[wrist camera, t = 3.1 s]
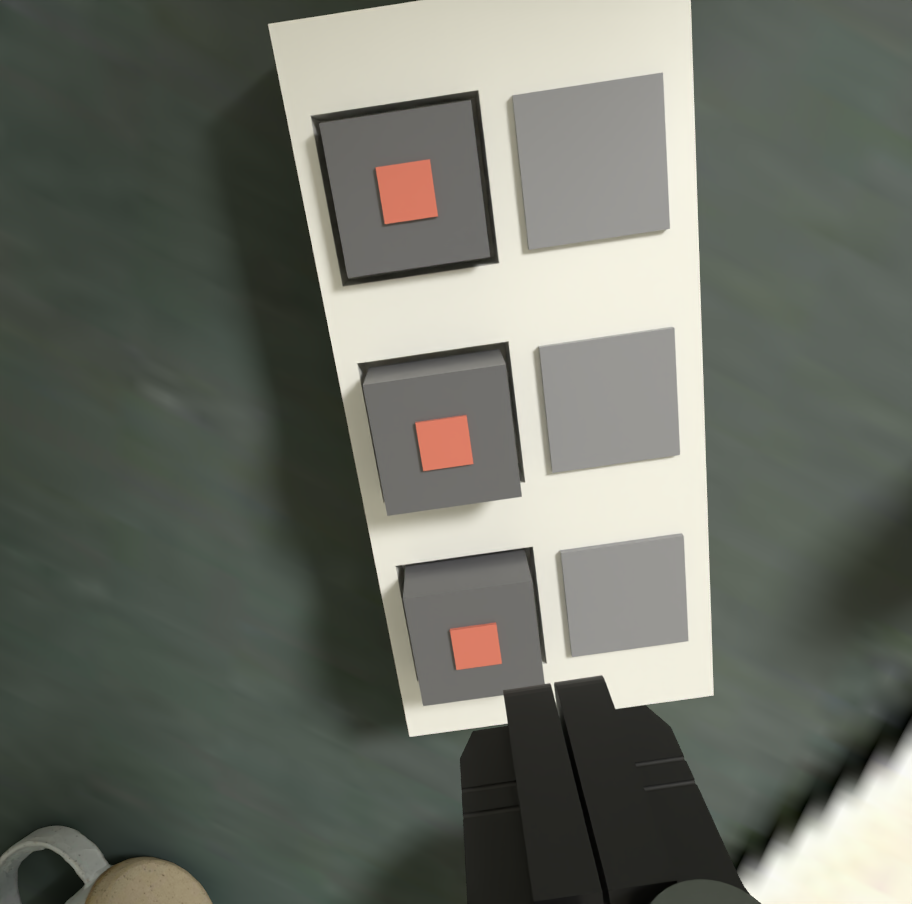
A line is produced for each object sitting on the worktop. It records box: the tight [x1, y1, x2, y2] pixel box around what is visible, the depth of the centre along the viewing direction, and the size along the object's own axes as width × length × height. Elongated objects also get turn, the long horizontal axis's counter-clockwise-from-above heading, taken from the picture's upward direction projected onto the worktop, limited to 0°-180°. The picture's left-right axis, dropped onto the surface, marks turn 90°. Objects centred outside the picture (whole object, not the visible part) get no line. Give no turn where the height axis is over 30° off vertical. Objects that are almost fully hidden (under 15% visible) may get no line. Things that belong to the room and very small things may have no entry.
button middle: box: [363, 349, 522, 516], centre depth 25 cm, size 4×4×2 cm
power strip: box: [268, 0, 713, 737], centre depth 27 cm, size 27×12×4 cm, turn 8°
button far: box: [403, 549, 545, 706], centre depth 27 cm, size 4×4×2 cm
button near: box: [319, 100, 490, 278], centre depth 23 cm, size 4×4×2 cm
